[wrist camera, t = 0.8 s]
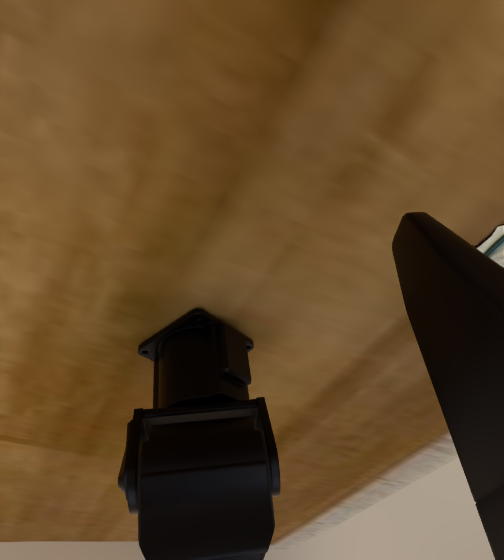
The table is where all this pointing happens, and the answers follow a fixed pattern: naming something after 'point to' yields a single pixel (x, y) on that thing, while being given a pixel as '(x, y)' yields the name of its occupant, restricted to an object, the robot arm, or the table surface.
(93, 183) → the table surface
